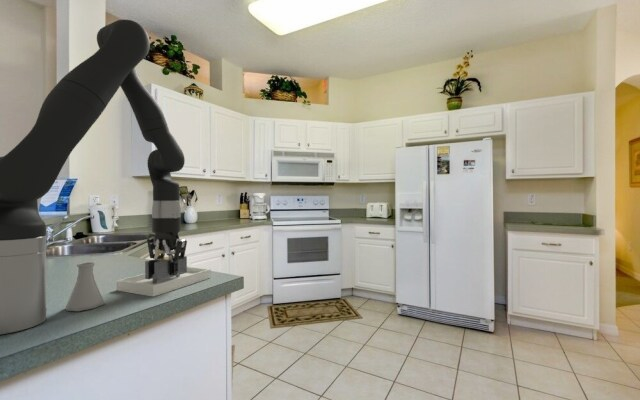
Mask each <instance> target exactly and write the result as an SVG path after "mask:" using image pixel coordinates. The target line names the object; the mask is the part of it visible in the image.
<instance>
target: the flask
mask: <svg viewBox="0 0 640 400" xmlns="http://www.w3.org/2000/svg"><path fill="white" fill-rule="evenodd" d="M76 266H77V268H78V269H77V270H78V273H77V278H76V281H75V283H74V287H73V289H72V292H71V294H70V296H69V299H68V301H67V303H66V305H65V309H66V311H67V312H69V311H70V312H81V311H86V310H91V309H95V308H98V307H100V306H103V305H106V303H105V300H104V298H103V296H102V293H101V292H100V289H99V287H98V285H97V281H96V280H95V275H94V266H95V262H94V261H93V262H90V261H89V262H81V263H77V264H76Z"/></svg>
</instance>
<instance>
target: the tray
mask: <svg viewBox="0 0 640 400" xmlns="http://www.w3.org/2000/svg"><path fill="white" fill-rule="evenodd" d="M208 278H209V279H211V268H201V267H193V266H192V267H191V266H187V273H184V274H180V275H177V276H173V277H170V278H166V279H162V280H159V281H156V280H154V274H153V278H152V279H145V273H141V274H138V275H134V276H129V277H125V278H120V279H117V280H115V281H116V283H115V285H116V291H118V292H124V293H125V292H126V293H131V294H137V295H141V296H147V297H156V296H159V295H163V294H165V293H168V292H172V291H174V290H179V289H181V288H184V287H187V286H190V285H192V284H193V285H194V284H196V283H200V282H202V281H206V280H208Z"/></svg>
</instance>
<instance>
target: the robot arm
mask: <svg viewBox="0 0 640 400" xmlns="http://www.w3.org/2000/svg"><path fill="white" fill-rule="evenodd" d="M96 42H97V45H98V49H97V51H96V52H94V53H93V54H92V55H91V56H90V57H88V58H86V59H85V60H84V61H81V63H79V64H78V65H76V66H75V67H74V68H72V69H71V70H70V71H69V72H68V73H66V74H65V75H64V76H63V77H62V78H61V79H60V80H59V81H58V83H56V84H55V86H54V87H53V88H52V90H50V92H49V93H48V94H47V95H46V97H45V99H44V101H43V102H42V104H41V107H40V110H39V113H38V116H37V118H36V121H35V123H34V126H33V127H32V128H31V130H30V131H29V132H28V133H27V134H26V136H25V137H23V138H22V140H21V141H20V142H19V143H17V145H16V146H14V147H13V148H12V149H11V150H10V151H8V152H7V154H5V155H4V156H0V335H6V334H11V333H15V332H19V331H24V330H27V329H30V328H32V327H35V326H38V325H40V324H43V323H44V322H45V321H47V311H48V309H47V225H46V223H45V221H44V220H43V219H42V218H41V216H40V213H39V208H38V203H39V202H38V200H39V199H41V198H42V197H44V196H45V195H47V193H49V191H50V190H51V189H52V187H53V185H54V184H55V181H57V178H58V177H59V175H60V173H61V171H62V169H63V167H64V165H65V164H66V161H67V160H68V158H69V156H70V155H71V153H72V152H73V151H74V149H75V148H76V147H77V145H78V144H79V143H80V142H81V140H82V139H83V138H84V137H85V136H86V134H87V133H88V132H89V131H90V129H91V128H92V126H93V125H94V124H95V123H96V122H97V120H98V119H99V117H100V116H101V115H102V114H103V112H104V111H105V109H106V107H107V106H108V104H110V101H111V100H112V99H113V97H114V96H115V95H116V93H117V92H118V90H119V88H121V90H122V92H123V94H124V95H125V97H126V99H127V102H128V103H129V105H130V107H131V109H132V113H133V115H134V118H135V119H136V121H137V125H138V127H139V130H140V132H141V135H142V137H143V139H144V140H145V141H146V142H148V143H152V144H153V145H154V147H155V148H156V149H154V150H153V151H151V152H150V153H149V155H148V157H147V170H148V174H149V178H150V181H151V185H152V205H151V207H152V208H151V232H152V233H153V234H154V237H152V238H147V240H146V243H147V247H148V253H149V258H150V259H152V260H154V259H159V258H164V257H166V256H165V255H167V257H169V260H170V262H171V263H170V275H176V274H177V273H178V261H179V260H182V259H184V256H185V254H186V248H187V244H188V240H187V239H182V238H180V236H179V232H181V230H182V226H181V224H182V223H181V221H182V219H181V218H182V217H181V214H182V213H181V210H182V209H181V203H180V202H181V201H180V199H181V198H180V197H181V196H180V194H181V192H180V183H178V182H177V181H175V180H173V179H172V174H171V173H176V172H179V171H181V170H182V169H183V168H184V166H185V162H186V161H185V160H186V159H185V155H184V152H183V150H182V148H181V147H180V145H179V143H178V142H177V140H176V138H175V136H173V134H172V133H171V132H170V129H169V126H168V123H167V120H166V118H165V115H164V112H163V110H162V107H161V106H160V104H159V103H158V101H157V100H156V99H155V98H154V96H153V95H152V94H151V93H150V92H149V90H148V89H147V88H146V86H145V85H144V83H143V82H142V80H141V78H140V77H139V74H138V70H137V68H136V67H137V66H138V65H139V63H141V62H142V61H143V60H144V59H145V58H146V57H147V56H148V53H149V52H150V49H151V42H150V37H149V34H148V32H147V31H146V29H145V28H144V27H143V26H142V24H140V23H138V22H136V21H134V20H132V19H118V20H115V21H113V22H110V23H109V24H107V25H105V26H103V27H101V28H100V29H99V30H98V31H97V34H96ZM173 256H174V258H173Z"/></svg>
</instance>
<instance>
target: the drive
mask: <svg viewBox="0 0 640 400" xmlns="http://www.w3.org/2000/svg"><path fill="white" fill-rule="evenodd" d="M187 257H188V255H187V256H185V255H184V259H182V260H179V261H178V273H177V274H176V275H170V263H171V262H170V260H169V256H164V258H159V259H151V260H145V261H144V264H145V265H144V268H145V269H144V274H145V279H152V278H153V274H154V280H156V281H159V280H162V279H166V278H170V277H173V276H177V275H180V274H184V273H187V267H188V264H187V263H188V259H187ZM173 258H174V255H173Z"/></svg>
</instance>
